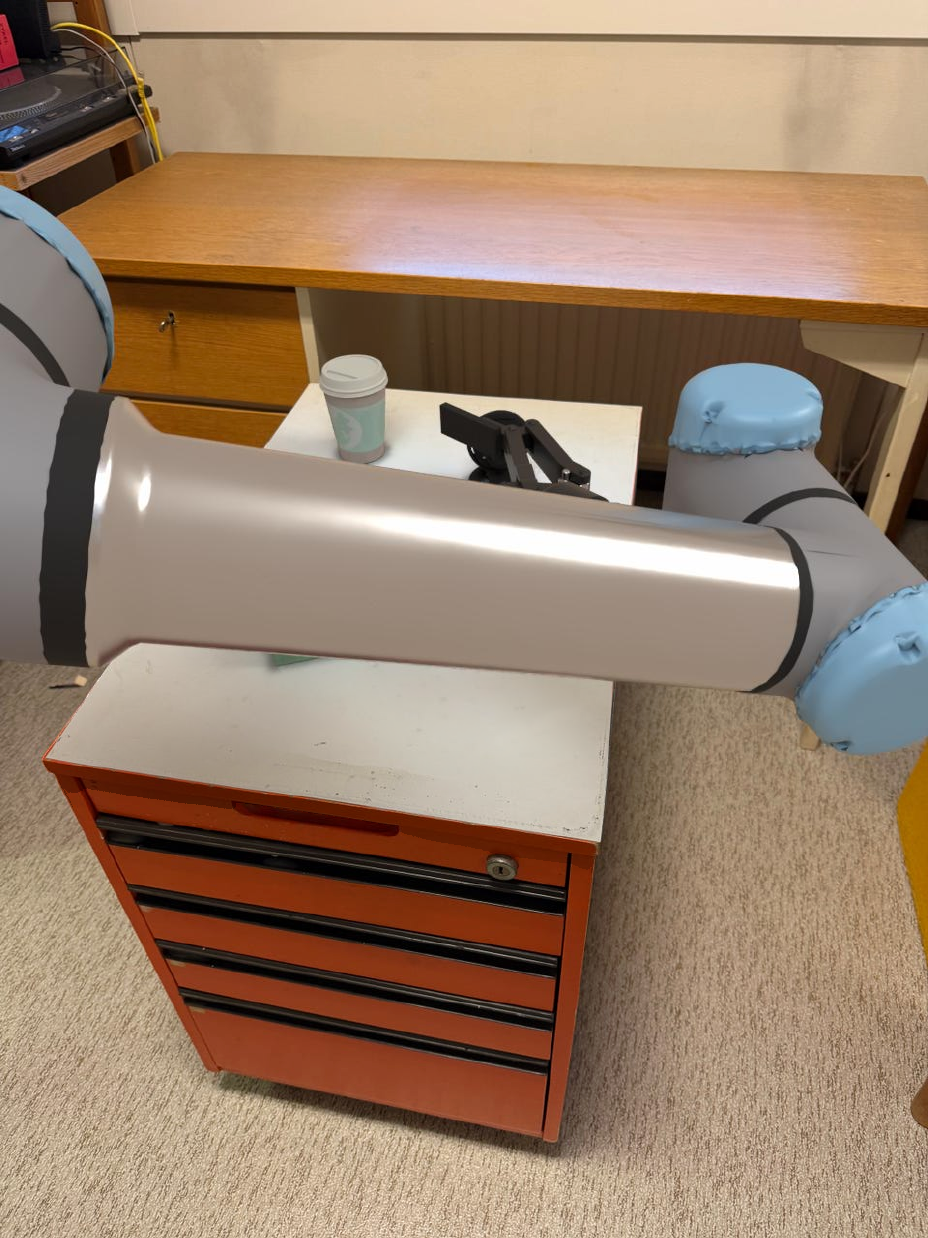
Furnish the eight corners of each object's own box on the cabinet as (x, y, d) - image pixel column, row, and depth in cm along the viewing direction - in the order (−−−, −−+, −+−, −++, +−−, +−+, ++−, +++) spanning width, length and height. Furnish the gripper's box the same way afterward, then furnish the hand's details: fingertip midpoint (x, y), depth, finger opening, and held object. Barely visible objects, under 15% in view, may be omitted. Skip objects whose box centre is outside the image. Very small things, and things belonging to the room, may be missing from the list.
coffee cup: (321, 446, 118) (308, 361, 110) (381, 430, 120) (372, 346, 113) (342, 476, 112) (329, 388, 104) (404, 459, 115) (396, 373, 107)
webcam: (472, 505, 106) (470, 430, 99) (463, 472, 112) (460, 400, 105) (536, 497, 107) (537, 423, 100) (523, 466, 112) (524, 393, 106)
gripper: (465, 680, 58) (270, 550, 69) (681, 518, 71) (487, 431, 82) (461, 591, 53) (252, 467, 64) (694, 434, 66) (486, 355, 77)
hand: (384, 447), depth 73 cm, fingers open, 13 cm apart
